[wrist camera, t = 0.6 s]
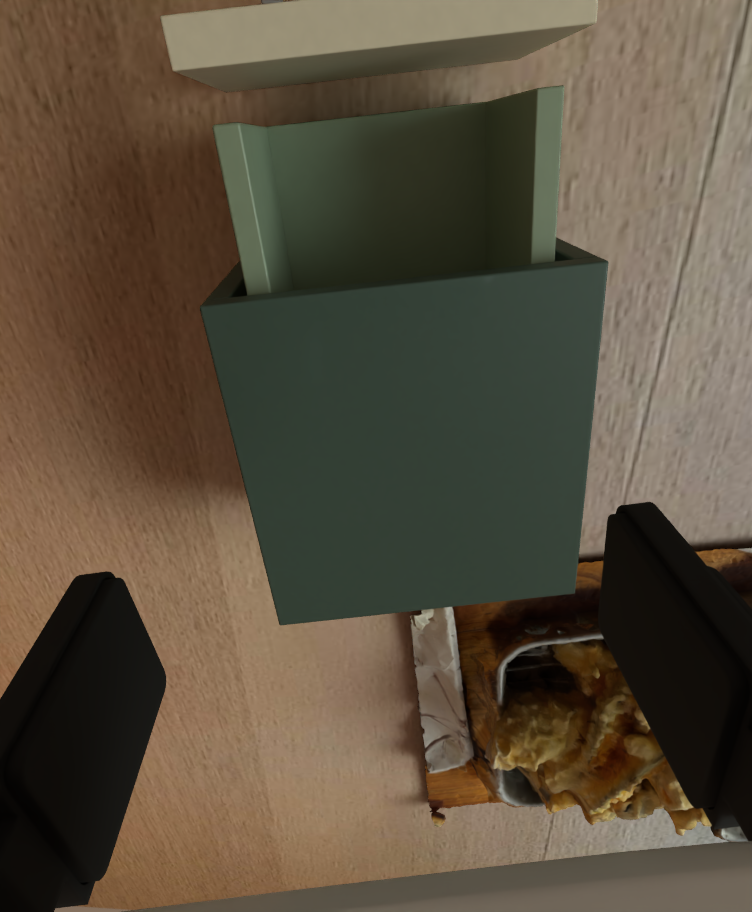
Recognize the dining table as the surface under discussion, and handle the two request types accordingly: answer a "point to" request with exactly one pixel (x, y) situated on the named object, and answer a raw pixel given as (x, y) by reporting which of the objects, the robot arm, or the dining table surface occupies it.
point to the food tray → (545, 708)
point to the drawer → (382, 139)
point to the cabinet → (414, 433)
